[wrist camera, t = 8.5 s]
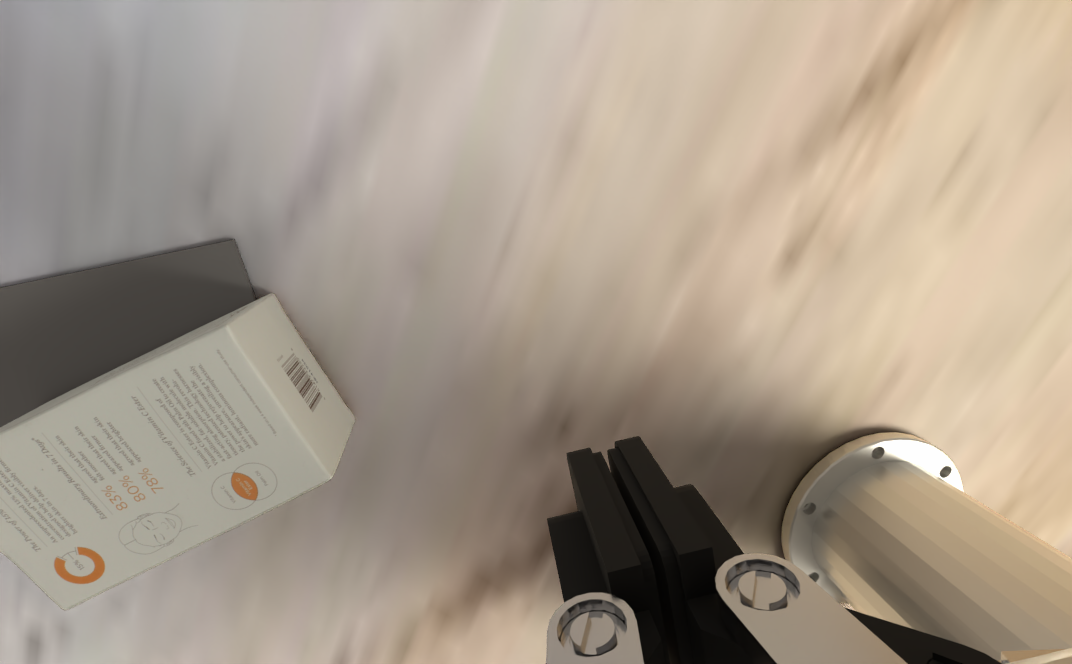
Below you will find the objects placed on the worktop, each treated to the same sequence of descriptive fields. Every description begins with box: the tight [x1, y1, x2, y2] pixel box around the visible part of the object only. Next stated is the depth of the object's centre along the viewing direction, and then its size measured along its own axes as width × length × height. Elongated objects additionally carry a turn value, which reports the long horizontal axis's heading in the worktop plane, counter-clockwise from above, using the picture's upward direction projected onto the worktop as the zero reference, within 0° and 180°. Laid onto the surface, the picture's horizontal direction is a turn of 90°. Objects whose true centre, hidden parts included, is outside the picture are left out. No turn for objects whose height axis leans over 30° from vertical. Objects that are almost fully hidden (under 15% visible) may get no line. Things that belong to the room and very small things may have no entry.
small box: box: [0, 293, 356, 610], centre depth 25 cm, size 8×6×13 cm
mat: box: [0, 239, 256, 427], centre depth 27 cm, size 12×14×1 cm
